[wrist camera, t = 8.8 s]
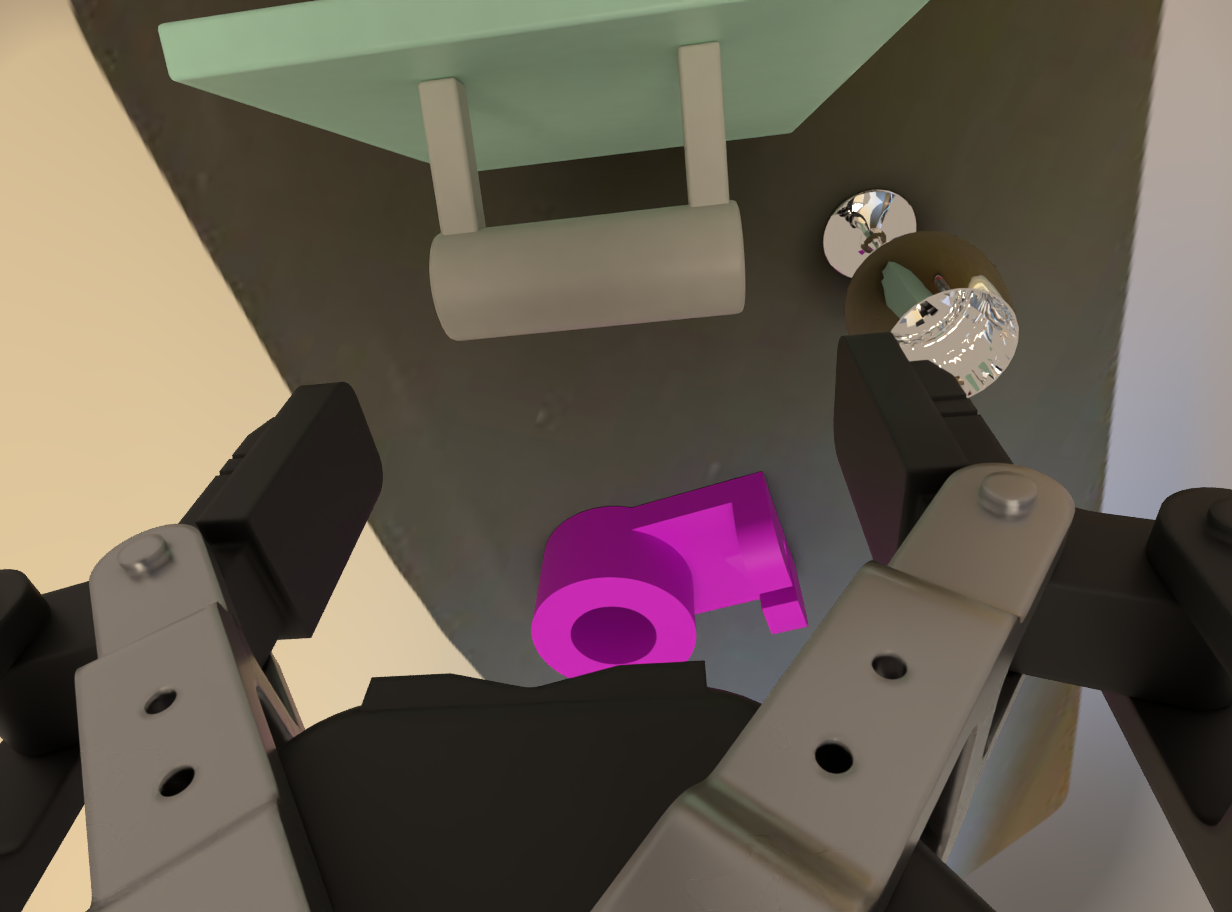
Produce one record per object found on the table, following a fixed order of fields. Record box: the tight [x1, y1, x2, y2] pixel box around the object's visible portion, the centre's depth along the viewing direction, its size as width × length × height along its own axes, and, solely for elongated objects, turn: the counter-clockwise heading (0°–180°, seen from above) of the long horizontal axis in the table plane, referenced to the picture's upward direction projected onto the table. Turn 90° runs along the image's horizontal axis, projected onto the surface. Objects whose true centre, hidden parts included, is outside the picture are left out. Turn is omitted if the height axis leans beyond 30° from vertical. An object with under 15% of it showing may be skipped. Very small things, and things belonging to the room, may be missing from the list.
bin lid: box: [158, 0, 929, 341], centre depth 18 cm, size 16×12×5 cm
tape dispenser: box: [532, 472, 808, 678], centre depth 46 cm, size 16×10×6 cm, turn 111°
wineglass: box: [823, 189, 1019, 398], centre depth 31 cm, size 6×6×12 cm
